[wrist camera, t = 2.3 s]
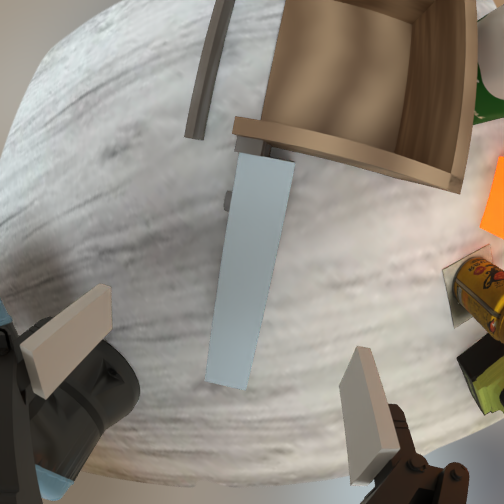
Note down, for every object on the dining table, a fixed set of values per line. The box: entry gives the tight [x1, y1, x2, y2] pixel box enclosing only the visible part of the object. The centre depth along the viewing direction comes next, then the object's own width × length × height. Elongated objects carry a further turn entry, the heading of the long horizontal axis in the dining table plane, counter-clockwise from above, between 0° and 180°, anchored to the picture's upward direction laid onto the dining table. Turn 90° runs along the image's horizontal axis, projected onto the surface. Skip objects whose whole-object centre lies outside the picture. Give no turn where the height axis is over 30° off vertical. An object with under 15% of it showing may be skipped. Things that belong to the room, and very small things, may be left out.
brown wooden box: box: [184, 0, 478, 194], centre depth 19 cm, size 20×20×13 cm
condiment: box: [443, 244, 504, 344], centre depth 24 cm, size 7×8×12 cm
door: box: [205, 153, 295, 391], centre depth 27 cm, size 5×18×11 cm, turn 170°
